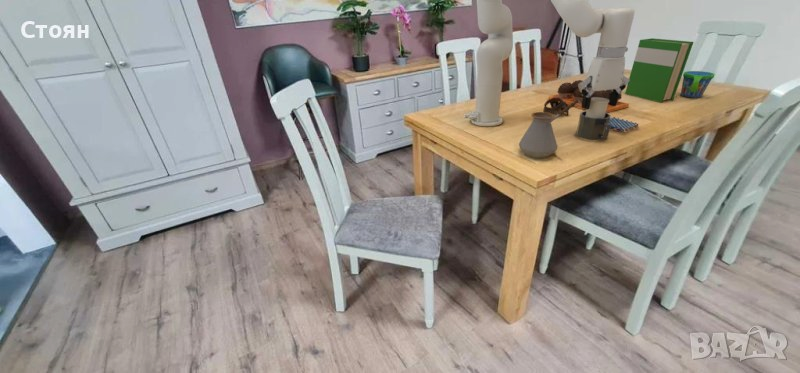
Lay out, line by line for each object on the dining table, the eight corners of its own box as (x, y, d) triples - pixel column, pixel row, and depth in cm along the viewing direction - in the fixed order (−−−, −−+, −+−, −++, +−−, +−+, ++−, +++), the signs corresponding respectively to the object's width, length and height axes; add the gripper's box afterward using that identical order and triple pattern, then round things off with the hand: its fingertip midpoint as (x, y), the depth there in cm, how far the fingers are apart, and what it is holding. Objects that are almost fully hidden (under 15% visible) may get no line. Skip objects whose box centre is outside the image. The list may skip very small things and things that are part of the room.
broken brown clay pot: (573, 118, 136) (568, 103, 131) (549, 128, 139) (544, 113, 135) (564, 103, 144) (559, 88, 139) (542, 112, 148) (536, 98, 143)
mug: (570, 133, 121) (575, 112, 117) (593, 131, 122) (598, 109, 118) (592, 146, 111) (598, 123, 107) (617, 143, 111) (623, 120, 108)
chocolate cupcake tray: (628, 107, 143) (633, 87, 139) (601, 114, 137) (606, 93, 133) (573, 94, 165) (576, 76, 161) (548, 99, 159) (551, 81, 155)
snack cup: (680, 90, 160) (687, 68, 155) (708, 94, 153) (717, 71, 148) (672, 98, 151) (680, 74, 146) (702, 101, 144) (711, 77, 139)
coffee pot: (536, 164, 101) (544, 116, 94) (510, 151, 110) (515, 107, 103) (585, 148, 109) (596, 103, 102) (556, 138, 118) (564, 95, 111)
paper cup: (587, 139, 114) (596, 102, 108) (577, 133, 120) (584, 98, 113) (604, 137, 115) (613, 101, 109) (592, 131, 120) (601, 96, 114)
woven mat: (594, 127, 125) (595, 121, 124) (611, 121, 130) (612, 116, 129) (621, 135, 117) (623, 129, 116) (639, 128, 122) (641, 123, 121)
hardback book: (673, 100, 148) (693, 41, 136) (660, 102, 146) (680, 43, 134) (636, 91, 163) (652, 38, 151) (624, 93, 161) (640, 39, 149)
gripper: (627, 48, 108) (614, 101, 116) (577, 53, 106) (567, 106, 115) (645, 51, 101) (630, 107, 110) (592, 56, 100) (581, 112, 108)
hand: (598, 106), depth 112 cm, fingers open, 9 cm apart
